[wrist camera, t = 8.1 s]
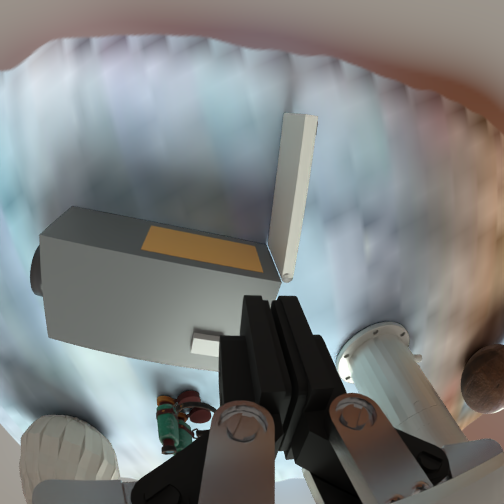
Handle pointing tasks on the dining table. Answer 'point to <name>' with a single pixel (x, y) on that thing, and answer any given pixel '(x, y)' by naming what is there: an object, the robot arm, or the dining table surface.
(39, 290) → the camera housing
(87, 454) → the vase
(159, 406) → the binoculars
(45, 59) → the dining table surface
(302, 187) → the side door
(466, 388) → the wooden sphere
